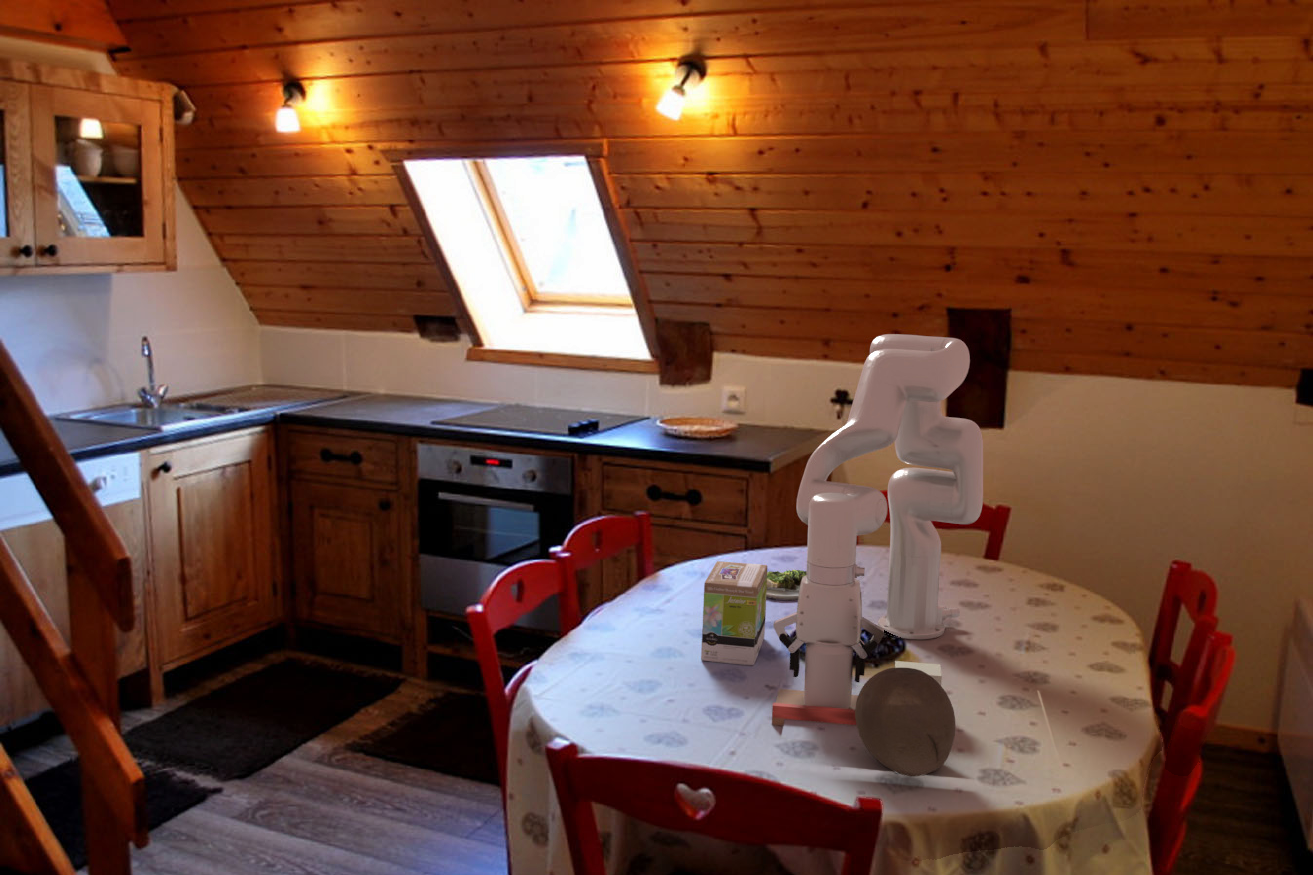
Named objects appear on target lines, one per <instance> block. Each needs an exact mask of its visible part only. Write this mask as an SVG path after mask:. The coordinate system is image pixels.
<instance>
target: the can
mask: <svg viewBox="0 0 1313 875" xmlns="http://www.w3.org/2000/svg"><path fill="white" fill-rule="evenodd" d="M815 642H816V643H806V644H805V658H804V660H805V661H804V662H805V663H804V688H803V689H804V690H803V691H804V703H805V704H806V705H807V706H819V707H831V708H842V709H848V708H849V707H850V706H851V697H852V695H853V693H852V690H853V670H854V669H853V668H854V651H855V650H854V649H853V648H852V646H844V645H843V643H823V642H819V641H815Z"/></svg>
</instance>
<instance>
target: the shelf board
mask: <svg viewBox="0 0 1313 875" xmlns="http://www.w3.org/2000/svg"><path fill="white" fill-rule="evenodd" d="M858 695H859V694H858ZM858 695H857V694H852V697H851V706H850V707H849V708H848V709H842V708H831V707H819V706H807V705H806V704H805V703H804V690H799V689H788V688H787V689H786V688H779V689H778V692H777V697H776V700H775V702H772V707H771V708H772V709H771V710H772V711H771V712H772V713H771V725H772V726H780V727H781V726H782V727H784V726H785V720H794V721H804V722H814V723H815V722H816V723H826V724H837V725H849V726H857V724H856V719H855V708H856V701H857V698H858Z"/></svg>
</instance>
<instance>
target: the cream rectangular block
mask: <svg viewBox="0 0 1313 875" xmlns="http://www.w3.org/2000/svg"><path fill="white" fill-rule="evenodd" d="M941 667H942V665H941V664H938V663H937V664H936V663H928V662H927V663H926V662H925V663H924V662H913V661H903V660H902V661H900V660H899V661H898V660H895V661H894V668H913V669H917V670H921V671H923V672H925V673H926V674H928V675H930V676H931V677H933V678H934V679H935V680H936V681H937V682H938V683H939V684H940V685H941V686H942V680H943V679H942V668H941Z"/></svg>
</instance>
